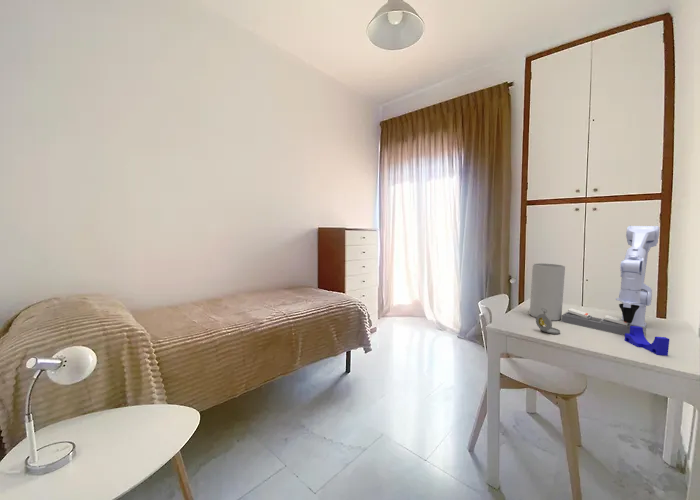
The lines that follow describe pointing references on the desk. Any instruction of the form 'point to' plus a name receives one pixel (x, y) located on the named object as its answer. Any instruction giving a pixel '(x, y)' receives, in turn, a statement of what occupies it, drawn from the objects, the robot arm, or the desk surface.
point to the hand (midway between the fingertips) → (627, 322)
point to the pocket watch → (546, 323)
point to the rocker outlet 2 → (615, 320)
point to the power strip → (598, 323)
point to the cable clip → (639, 340)
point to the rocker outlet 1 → (578, 313)
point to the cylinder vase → (547, 290)
